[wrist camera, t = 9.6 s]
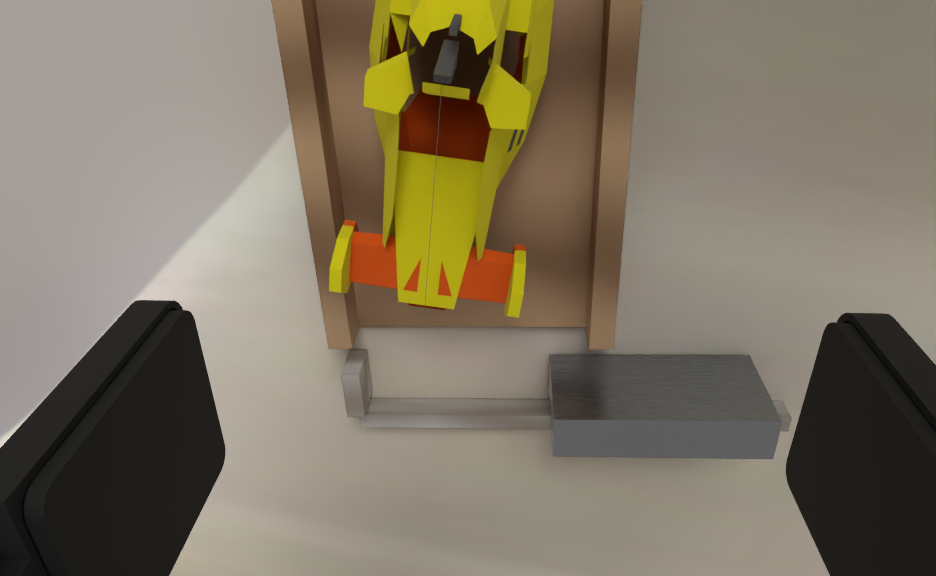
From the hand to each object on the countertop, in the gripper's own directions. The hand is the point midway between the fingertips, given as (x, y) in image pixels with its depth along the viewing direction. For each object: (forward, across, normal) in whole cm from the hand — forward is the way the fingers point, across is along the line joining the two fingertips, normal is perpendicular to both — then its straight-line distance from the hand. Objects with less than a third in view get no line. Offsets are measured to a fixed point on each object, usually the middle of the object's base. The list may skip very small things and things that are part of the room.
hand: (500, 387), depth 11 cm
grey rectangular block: (+18, -7, +13) cm, 23 cm away
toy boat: (+18, +2, -2) cm, 18 cm away
